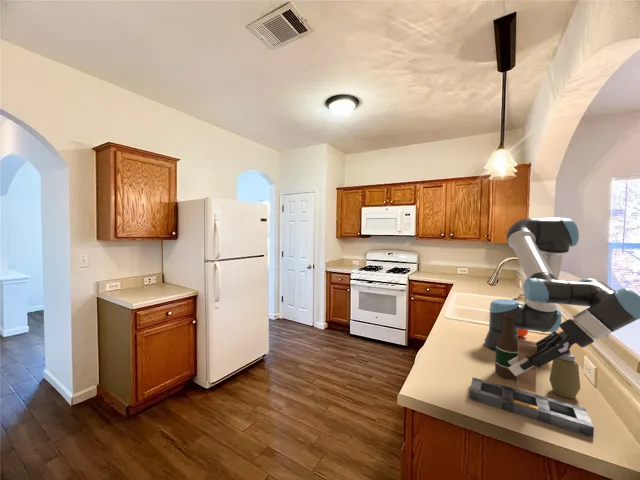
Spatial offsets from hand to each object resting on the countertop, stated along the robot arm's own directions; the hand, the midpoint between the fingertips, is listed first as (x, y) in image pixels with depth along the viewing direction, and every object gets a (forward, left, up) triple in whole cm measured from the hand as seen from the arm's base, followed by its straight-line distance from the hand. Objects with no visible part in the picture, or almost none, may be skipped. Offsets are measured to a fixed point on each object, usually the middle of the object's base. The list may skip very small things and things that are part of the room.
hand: (511, 368), depth 89 cm
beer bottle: (-11, -18, -12) cm, 25 cm away
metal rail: (-3, +2, -12) cm, 12 cm away
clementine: (-47, -59, -12) cm, 77 cm away
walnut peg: (-3, +2, -5) cm, 6 cm away
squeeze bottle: (-23, -6, -12) cm, 27 cm away
